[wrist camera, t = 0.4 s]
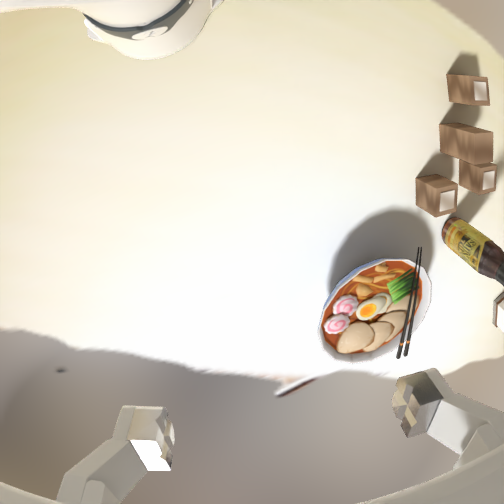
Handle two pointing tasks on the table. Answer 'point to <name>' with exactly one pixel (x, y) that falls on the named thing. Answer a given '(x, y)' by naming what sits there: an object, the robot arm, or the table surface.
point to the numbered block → (468, 89)
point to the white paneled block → (436, 195)
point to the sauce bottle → (474, 248)
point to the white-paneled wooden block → (477, 177)
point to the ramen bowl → (375, 310)
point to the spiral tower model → (499, 312)
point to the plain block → (466, 143)
